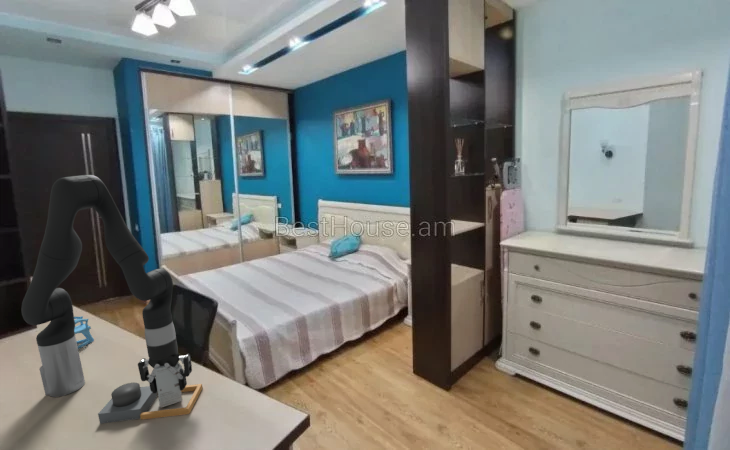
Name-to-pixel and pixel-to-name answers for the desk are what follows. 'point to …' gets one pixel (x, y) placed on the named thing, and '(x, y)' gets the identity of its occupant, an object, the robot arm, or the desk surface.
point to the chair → (83, 331)
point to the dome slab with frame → (140, 404)
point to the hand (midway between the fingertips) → (169, 390)
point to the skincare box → (167, 386)
